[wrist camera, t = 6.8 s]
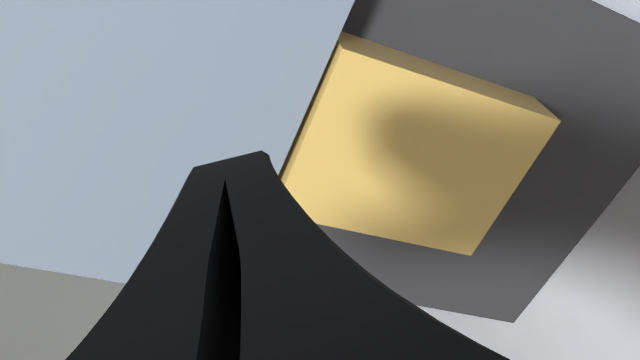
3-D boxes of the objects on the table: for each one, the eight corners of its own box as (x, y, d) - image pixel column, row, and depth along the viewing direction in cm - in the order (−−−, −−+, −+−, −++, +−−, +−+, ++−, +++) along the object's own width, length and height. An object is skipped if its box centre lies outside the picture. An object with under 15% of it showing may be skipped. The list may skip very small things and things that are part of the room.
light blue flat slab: (374, -103, 16) (394, -91, 14) (222, 262, 22) (223, 299, 20) (-331, -436, 10) (-430, -480, 9) (-261, 172, 17) (-310, 212, 15)
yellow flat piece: (534, 97, 20) (561, 121, 18) (453, 226, 23) (470, 255, 21) (330, 27, 17) (342, 48, 16) (266, 183, 20) (272, 214, 18)
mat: (713, 58, 21) (722, 62, 20) (509, 316, 27) (513, 322, 27) (389, -95, 16) (393, -93, 15) (234, 264, 22) (234, 271, 22)
